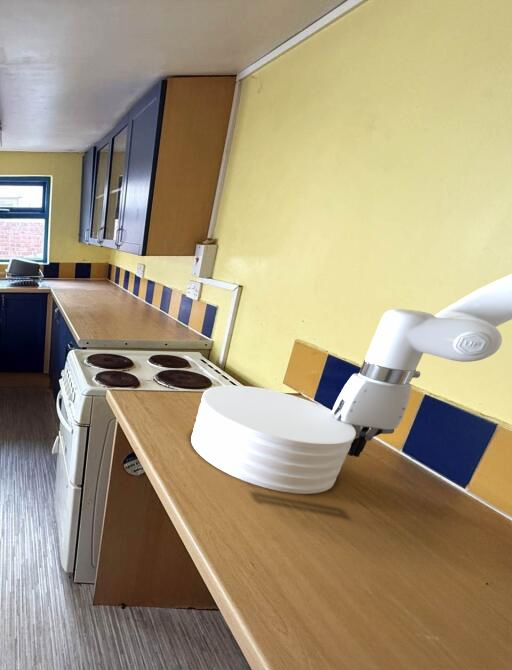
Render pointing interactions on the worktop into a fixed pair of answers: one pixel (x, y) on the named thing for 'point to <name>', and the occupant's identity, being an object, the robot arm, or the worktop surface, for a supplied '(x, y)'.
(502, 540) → the worktop surface
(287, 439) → the plate stack
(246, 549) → the worktop surface
